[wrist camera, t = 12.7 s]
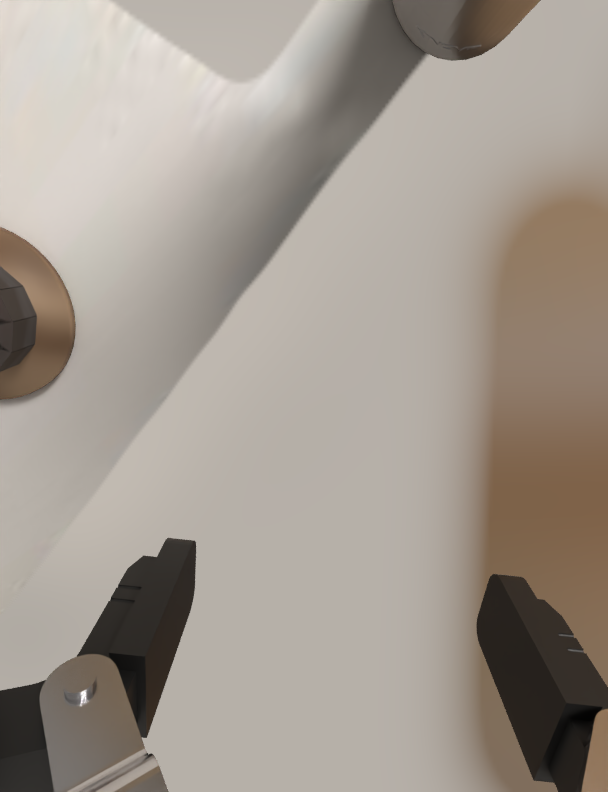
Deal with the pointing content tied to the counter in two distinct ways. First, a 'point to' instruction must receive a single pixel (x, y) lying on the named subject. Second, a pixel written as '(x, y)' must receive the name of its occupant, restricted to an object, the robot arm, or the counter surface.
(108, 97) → the counter surface
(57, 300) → the can holder
